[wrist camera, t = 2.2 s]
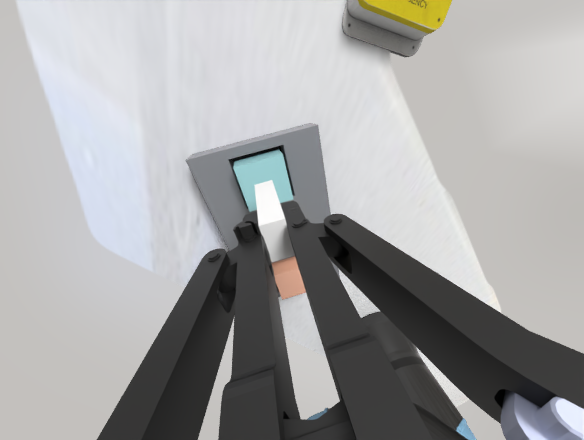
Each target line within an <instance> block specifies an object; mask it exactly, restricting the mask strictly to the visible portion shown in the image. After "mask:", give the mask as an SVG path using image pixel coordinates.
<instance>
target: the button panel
mask: <svg viewBox="0 0 584 440" xmlns="http://www.w3.org/2000/svg"><path fill="white" fill-rule="evenodd" d="M280 145H281V149H282V153H283V157H284V161H285V166H286V170H287V174H288V178H289V182H290V187H291V191H292V195H293V200H289V201H295V202H297V203H298V204H299V207H300V208H301V210H302V212H303V214H304V216H305V218H306V219H308V220H309V221H310V223H324V219H325V218H326V217H327V216H329V215H331V214H330V207H329V200H328V193H327V185H326V178H325V171H324V164H323V157H322V150H321V143H320V136H319V129H318V125H316V124H312V123H309V124H305V125H301V126H297V127H294V128H290V129H286V130H282V131H279V132H275V133H271V134H267V135H264V136H260V137H256V138H252V139H248V140H245V141H241V142H237V143H233V144H230V145H226V146H222V147H218V148H215V149H211V150H207V151H203V152H199V153H196V154H192V155H191V156H190V157H189V158H188V159H186V162H187V164H188V166H189V168H190V170H191V172H192V174H193V177H194V179H195V181H196V183H197V185H198V187H199V189H200V191H201V193H202V195H203V197H204V199H205V201H206V203H207V205H208V208H209V210H210V212H211V214H212V216H213V218H214V220H215V222H216V224H217V226H218V228H219V230H220V232H221V234H222V237H223V239H224V241H225V243H226V245H227V247H228V249H229V251H230V250H232V249H234V248H236V247H237V246H238V240H237V238H236V235H235V233H234V231H233V229H234V227H235V226H236V225H237V224H239V223H240V222H243V218H244V216H245V215H246V214H249V213H253V212H256V211H257V210H254V211H251V212H250V211H249V209H248V206H247V203H246V201H245V198H244V195H243V192H242V190H241V187H240V184H239V182H238V179H237V176H236V174H235V171H234V168H233V167H234V163H233V160H232V158H236V157H239V156H243V155H247V154H251V153H254V152H258V151H262V150H265V149H269V148H273V147H277V146H280ZM289 201H286V202H289ZM286 202H282V203H286ZM282 203H280V204H282ZM291 257H294V256H291ZM288 258H290V257H288ZM285 259H287V258H285ZM329 259H330V258H329ZM281 260H284V259H281ZM278 261H280V260H278ZM330 261H331V260H330ZM275 262H277V261H275ZM271 263H274V262H272V261H271ZM331 263H332V265H333V267H334V269H335V270H336V272H337V274H338V276H339V270H338V267H337V266H336V265H335V264H334V263H333V262H332V261H331ZM275 282H276V281H275ZM276 288H277V294H278V297H280V296H281V295H280V292H279V289H278V287H277V284H276Z"/></svg>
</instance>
